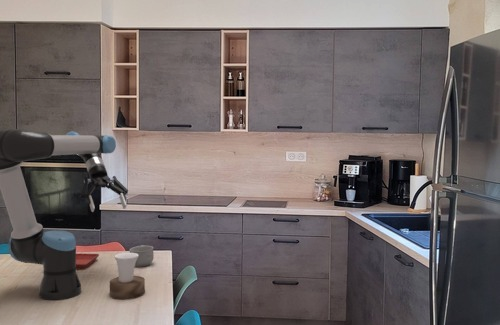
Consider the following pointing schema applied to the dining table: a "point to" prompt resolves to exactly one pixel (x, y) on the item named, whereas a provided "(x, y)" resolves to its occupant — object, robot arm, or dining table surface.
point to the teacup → (143, 255)
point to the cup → (126, 266)
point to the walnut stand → (127, 288)
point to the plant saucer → (85, 260)
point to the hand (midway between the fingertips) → (109, 208)
